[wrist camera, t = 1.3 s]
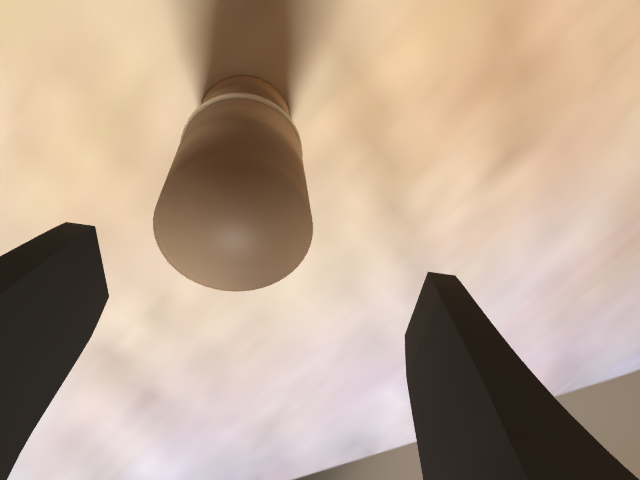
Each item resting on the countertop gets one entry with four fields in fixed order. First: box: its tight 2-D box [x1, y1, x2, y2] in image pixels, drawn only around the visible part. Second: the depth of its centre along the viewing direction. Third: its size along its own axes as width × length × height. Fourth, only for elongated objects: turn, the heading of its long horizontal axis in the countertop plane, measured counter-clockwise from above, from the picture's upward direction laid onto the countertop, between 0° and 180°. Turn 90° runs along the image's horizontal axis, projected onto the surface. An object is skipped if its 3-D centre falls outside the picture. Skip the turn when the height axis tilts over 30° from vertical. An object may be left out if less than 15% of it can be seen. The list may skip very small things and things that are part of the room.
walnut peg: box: [153, 75, 313, 291], centre depth 15 cm, size 4×4×8 cm
